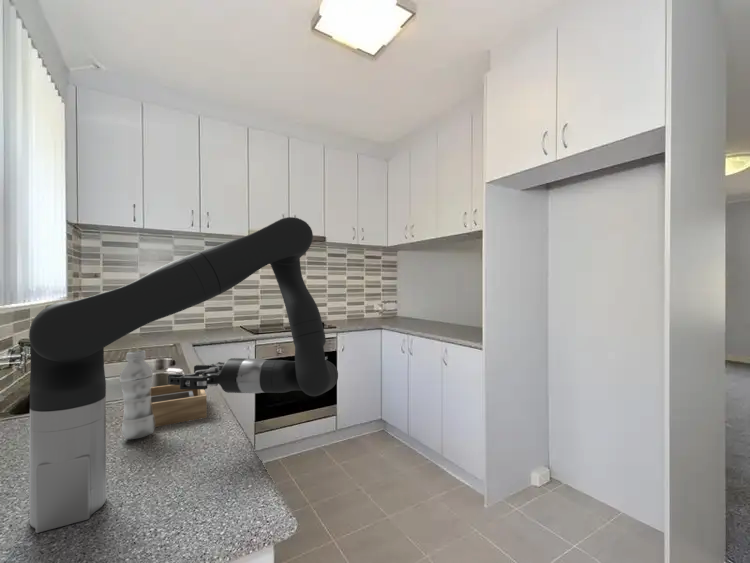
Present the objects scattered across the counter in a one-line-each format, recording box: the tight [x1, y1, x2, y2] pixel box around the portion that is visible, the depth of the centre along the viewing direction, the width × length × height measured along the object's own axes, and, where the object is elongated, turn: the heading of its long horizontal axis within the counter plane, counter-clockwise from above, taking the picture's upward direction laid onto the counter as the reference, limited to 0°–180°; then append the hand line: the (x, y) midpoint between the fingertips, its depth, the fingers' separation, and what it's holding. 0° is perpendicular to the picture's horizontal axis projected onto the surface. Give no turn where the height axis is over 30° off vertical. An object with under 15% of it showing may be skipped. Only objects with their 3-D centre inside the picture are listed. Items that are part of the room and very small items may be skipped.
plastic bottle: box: [119, 350, 156, 440], centre depth 85 cm, size 6×7×20 cm
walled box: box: [151, 381, 208, 428], centre depth 100 cm, size 18×18×6 cm
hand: (182, 374), depth 83 cm, fingers open, 8 cm apart
